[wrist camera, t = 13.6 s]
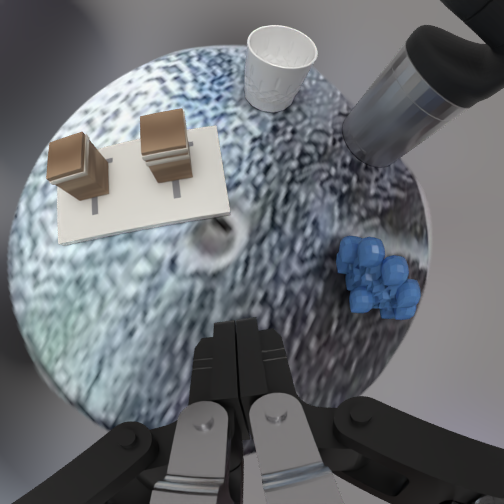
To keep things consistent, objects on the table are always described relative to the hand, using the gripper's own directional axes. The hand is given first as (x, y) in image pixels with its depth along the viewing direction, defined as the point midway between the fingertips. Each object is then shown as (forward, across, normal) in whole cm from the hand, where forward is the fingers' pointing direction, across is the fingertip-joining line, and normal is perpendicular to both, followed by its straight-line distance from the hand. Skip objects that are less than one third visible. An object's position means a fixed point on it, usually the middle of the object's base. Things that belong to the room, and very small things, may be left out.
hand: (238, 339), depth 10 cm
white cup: (+32, -7, -13) cm, 35 cm away
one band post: (+24, +16, -5) cm, 29 cm away
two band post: (+25, +6, -5) cm, 26 cm away
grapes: (+20, -12, +12) cm, 26 cm away
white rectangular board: (+25, +11, -4) cm, 28 cm away
